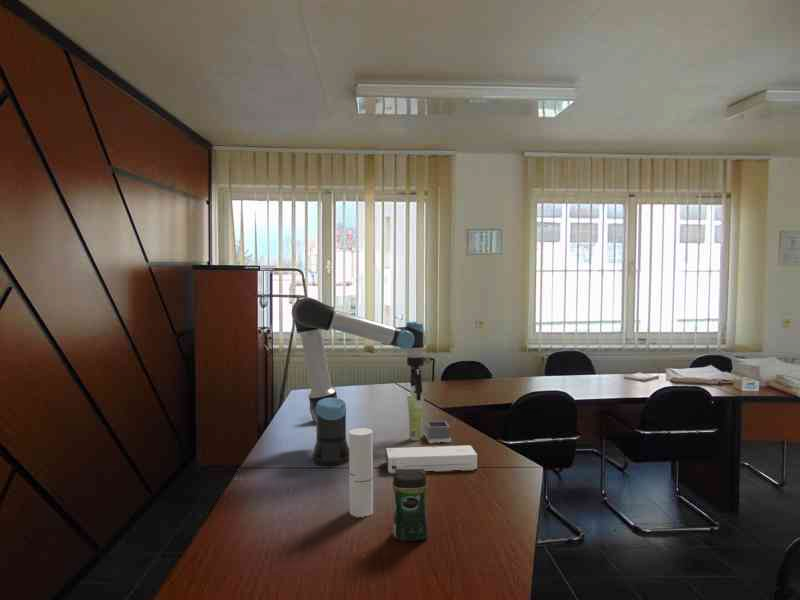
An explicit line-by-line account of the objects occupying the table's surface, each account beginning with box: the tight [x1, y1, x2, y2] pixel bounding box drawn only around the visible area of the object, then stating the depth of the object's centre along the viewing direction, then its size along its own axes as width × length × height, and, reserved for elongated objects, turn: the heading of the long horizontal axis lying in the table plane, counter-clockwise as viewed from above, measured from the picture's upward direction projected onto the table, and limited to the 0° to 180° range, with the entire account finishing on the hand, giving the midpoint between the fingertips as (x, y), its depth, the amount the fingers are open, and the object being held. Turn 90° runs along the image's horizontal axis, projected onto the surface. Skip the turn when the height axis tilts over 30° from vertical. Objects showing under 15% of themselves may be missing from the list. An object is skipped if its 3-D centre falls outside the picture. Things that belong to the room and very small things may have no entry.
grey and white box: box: [424, 420, 452, 444], centre depth 228 cm, size 12×10×6 cm
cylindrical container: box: [348, 427, 374, 518], centre depth 155 cm, size 7×7×25 cm
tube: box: [406, 395, 425, 442], centre depth 227 cm, size 6×5×20 cm
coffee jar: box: [392, 469, 429, 542], centre depth 141 cm, size 10×8×19 cm
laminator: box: [385, 445, 479, 474], centre depth 193 cm, size 34×12×6 cm, turn 95°
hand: (416, 403), depth 227 cm, fingers open, 13 cm apart
